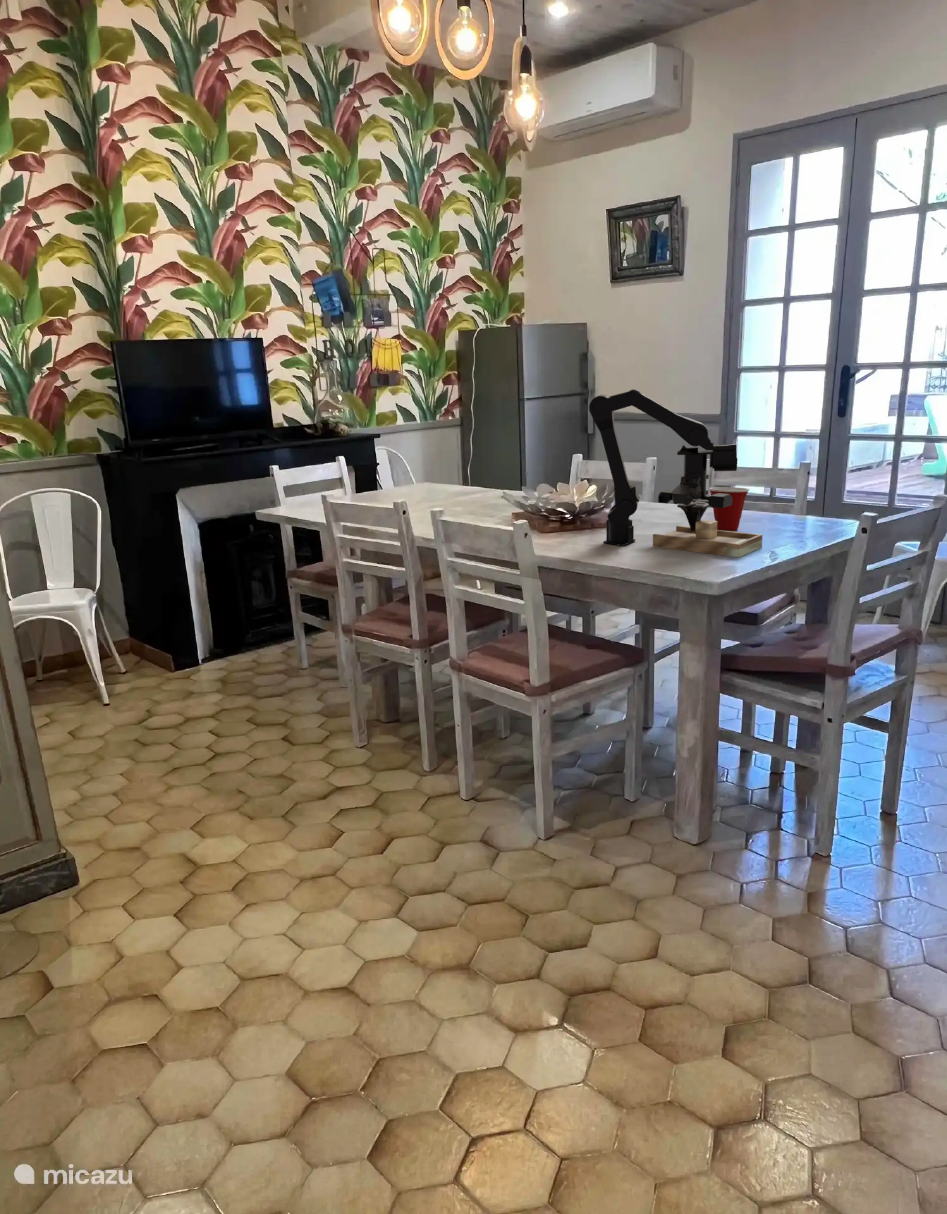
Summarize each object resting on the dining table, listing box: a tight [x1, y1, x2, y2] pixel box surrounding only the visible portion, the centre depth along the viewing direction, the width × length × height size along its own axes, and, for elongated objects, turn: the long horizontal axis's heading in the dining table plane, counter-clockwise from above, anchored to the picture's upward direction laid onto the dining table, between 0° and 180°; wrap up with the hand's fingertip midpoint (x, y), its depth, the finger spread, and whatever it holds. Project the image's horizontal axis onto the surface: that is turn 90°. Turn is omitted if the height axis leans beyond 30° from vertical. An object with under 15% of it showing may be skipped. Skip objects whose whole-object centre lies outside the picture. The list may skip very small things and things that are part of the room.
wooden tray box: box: [652, 525, 763, 558], centre depth 215 cm, size 24×13×3 cm, turn 48°
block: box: [696, 519, 717, 539], centre depth 217 cm, size 4×4×4 cm
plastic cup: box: [708, 486, 750, 532], centre depth 232 cm, size 11×11×12 cm
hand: (693, 530), depth 220 cm, fingers closed
